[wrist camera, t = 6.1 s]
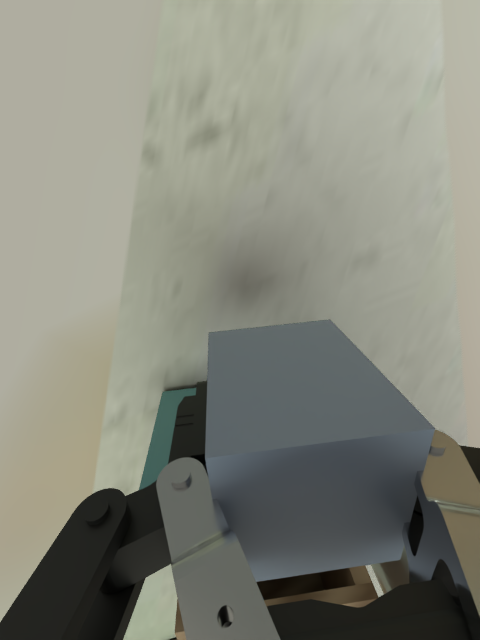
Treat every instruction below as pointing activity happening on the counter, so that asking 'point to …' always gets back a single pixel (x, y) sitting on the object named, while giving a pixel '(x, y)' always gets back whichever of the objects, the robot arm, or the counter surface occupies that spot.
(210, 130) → the counter surface
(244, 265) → the counter surface
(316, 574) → the cabinet
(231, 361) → the slate-blue block
